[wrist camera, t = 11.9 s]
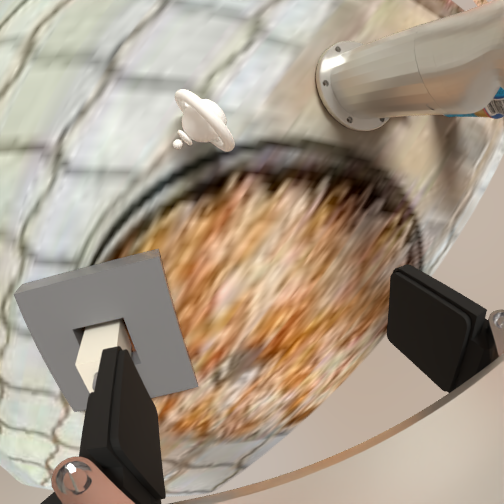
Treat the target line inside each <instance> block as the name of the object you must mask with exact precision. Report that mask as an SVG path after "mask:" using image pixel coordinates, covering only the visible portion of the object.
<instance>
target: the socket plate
mask: <svg viewBox="0 0 504 504" xmlns="http://www.w3.org/2000/svg"><path fill="white" fill-rule="evenodd" d="M14 296H15V299H16V301H17V304H18V306H19V309H20V311H21V313H22V316H23V318H24V320H25V322H26V325H27V327H28V329H29V331H30V333H31V335H32V337H33V340H34V342H35V344H36V346H37V348H38V350H39V352H40V354H41V355H42V357H43V359H44V361H45V363H46V365H47V367H48V369H49V370H50V372H51V374H52V376H53V378H54V379H55V381H56V383H57V384H58V386H59V388H60V390H61V391H62V393H63V394H64V396H65V398H66V399H67V401H68V403H69V404H70V406H71V407H72V409H73V410H74V412H77V411H83V410H86V407H87V401H88V397H89V394H90V393H89V391H88V389H87V387H86V385H85V383H84V381H83V379H82V377H81V375H80V373H79V371H78V369H77V367H76V365H75V363H76V360H77V356H78V352H79V349H80V345H81V342H82V338H83V335H84V333H83V331H82V328H81V327H85V326H90V325H94V324H98V323H103V322H107V321H111V320H115V319H120V318H124V321H125V323H126V326H127V329H128V331H129V334H130V336H131V339H132V342H133V344H134V347H135V349H136V351H134V352H131V358H132V360H133V362H134V365H135V367H136V369H137V371H138V373H139V375H140V377H141V379H142V381H143V383H144V385H145V387H146V389H147V391H148V393H149V395H150V397H151V398H154V397H158V396H162V395H167V394H171V393H175V392H179V391H183V390H187V389H191V388H195V387H198V383H197V380H196V376H195V372H194V369H193V366H192V363H191V360H190V357H189V354H188V351H187V348H186V345H185V342H184V338H183V335H182V332H181V329H180V325H179V322H178V319H177V315H176V312H175V308H174V305H173V301H172V298H171V294H170V290H169V287H168V283H167V279H166V276H165V272H164V268H163V264H162V260H161V256H160V252H159V249H156V250H152V251H147V252H143V253H139V254H135V255H131V256H127V257H123V258H120V259H116V260H112V261H108V262H104V263H100V264H96V265H92V266H88V267H85V268H81V269H77V270H73V271H69V272H66V273H62V274H58V275H54V276H51V277H47V278H43V279H40V280H36V281H32V282H29V283H25V284H22V285H21V286H20V287H19V289H18V290H17V291H16V292H15V293H14Z"/></svg>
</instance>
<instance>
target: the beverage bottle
mask: <svg viewBox="0 0 504 504" xmlns="http://www.w3.org/2000/svg"><path fill="white" fill-rule="evenodd" d="M444 116H447V117H455V116H456V117H490V118H494V119H498V118H502V117H503V116H504V90H503V88H502V87H500V88H499V90H498V92H497V93H496V95H495V96H494V98H493V99H492V100H491V102H490V103H489V104H488V105H487V106H486V107H484V108H483V109H482V110H480V111H478V112H475V113H471V114H447V115H444Z"/></svg>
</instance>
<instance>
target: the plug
mask: <svg viewBox="0 0 504 504" xmlns="http://www.w3.org/2000/svg"><path fill="white" fill-rule="evenodd" d="M117 346H120V347H121V348H122V350H125V349H127V350H128V352H129V354H130V356H131V347H132V345H131V342H130V340H129V337H128V334H127V331H126V329H125V326H124V323H123V320H122V318H120V319H115V320H111V321H107V322H103V323H98V324H94V325H90V326H86V328H85V331H84V335H83V338H82V342H81V345H80V349H79V352H78V356H77V360H76V363H75V365H76V367H77V369H78V371H79V373H80V375H81V377H82V379H83V381H84V383H85V385H86V387H87V389H88V391H89V393H91V392H94V390H95V385H96V379H97V374H98V369H99V364H100V359H101V355H102V351H103V349H107V348H112V347H117Z"/></svg>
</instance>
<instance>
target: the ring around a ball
mask: <svg viewBox="0 0 504 504" xmlns="http://www.w3.org/2000/svg"><path fill="white" fill-rule="evenodd" d="M175 100H176V103H177V105H178V106H179V108H180V109H181V111H182V112H183V116H182V127H183V130H184V132H185V133H186V134H185V133H184V132H183V131H181V130H178V132H177V133H178V135H179V136H180V137H181V138H182V140H179V139H177V140H175V141H174V142H173V147H174V148H175V149H180V148H181V147H182V146H183V142H182V141H183V140H184V141H185V142H186V143H187V144H188V145H192V144H193V143H192V141H191V139H192V140H194V141H197V142H211V143H212V144H214V145H215V146H216V147H218V148H219V149H221V150H223V151H226V152H229V151H231V150H233V148H234V146H235V143H234V139H233V137H232V134H231V133H230V131H229V129H228V128H227V126H226V122H227V119H226V116H225V114H224V112H223V111H222V109H221V108H220V107H219V106H218V105H217V104H216V103H214V102H212V101H211V100H209V99H201V98H199V97H198V96H197V95H195V94H194V93H192V92H190V91H188V90H185V89H180V90H178V91H177V92H176V93H175ZM190 138H191V139H190Z"/></svg>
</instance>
